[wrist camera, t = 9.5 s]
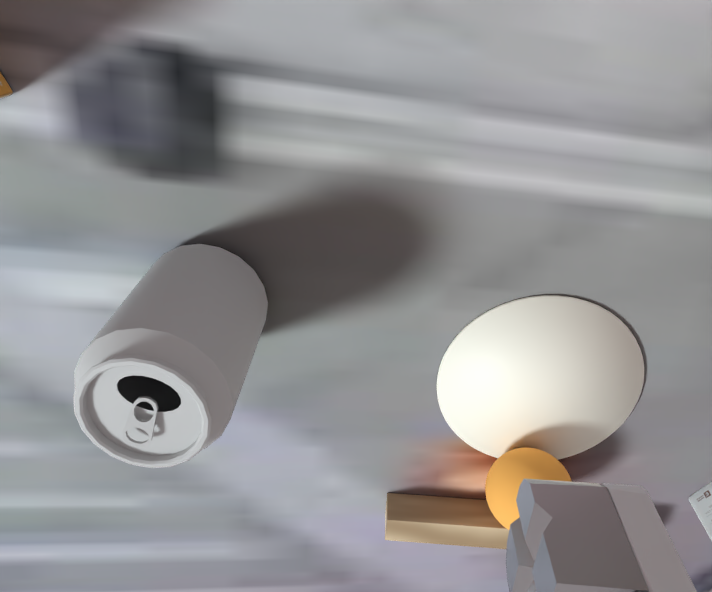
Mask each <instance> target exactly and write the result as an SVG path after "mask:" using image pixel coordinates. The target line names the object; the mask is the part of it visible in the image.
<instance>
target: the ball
mask: <svg viewBox="0 0 712 592" xmlns="http://www.w3.org/2000/svg"><path fill="white" fill-rule="evenodd" d="M523 479H539V480H554V481H569V482H572V481H571V478H570V476H569V474H568V472H567V470H566V469H565V467H564V466H563V465H562V464H561V463H560V462H559V461H558V460H557V459H556V458H555V457H553V456H552V455H550V454H549V453H547V452H545V451H542V450H539V449H536V448H526V447H524V448H517V449H513V450H511V451H508V452H506V453H505V454H503V455H502V456H500V457H499V458H498V459H497V460H496V461H495V462H494V464H493V465H492V466H491V468H490V470H489V472H488V475H487V479H486V486H485V492H486V499H487V503H488V506H489V508H490V510H491V512H492V514H493V515H494V517H495V518H496V519H497V520H498V522H499V523H500V524H501V525H503V526H504V527H505V528H506V529H508V530H509V529H510V524H511V523H513V522H514V521H515V520H517V519H518V518H519V517H520V516H519V511H518V507H517V502H516V498H517V494H518V490H519V486H520V484H521V483H522V481H523Z"/></svg>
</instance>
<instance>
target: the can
mask: <svg viewBox="0 0 712 592" xmlns="http://www.w3.org/2000/svg"><path fill="white" fill-rule="evenodd" d="M267 308H268V301H267V297H266V293H265V288H264V285H263V284H262V282H261V280H260V279H259V277H258V276H257V274H256V272H255V271H254V269H252V268H251V267H250V266H249V265H248V264H247V263H246V262H245V261H243V260H242V259H241V258H240V257H239V256H237V255H235V254H233V253H231V252H229V251H227V250H225V249H222V248H220V247H215V246H210V245H204V244H193V245H185V246H179V247H177V248H175V249H173V250H171V251H169V252H167V253H164V254H163V255H162V256H161V257H160V258H159V259H158V260H157V261H156V262H155V263H154V264H153V265H152V266H151V268H150V269H149V270H148V271H147V273H146V274H145V275H144V276H143V278H142V279H141V280H140V281H139V283H138V284H137V285H136V286H135V288H134V289H133V290H132V291H131V293H130V294H129V295H128V296H127V298H126V299H125V300H124V301H123V303H122V304H121V305H120V306H119V308H118V309H117V310H116V311H115V313H114V314H113V315H112V316H111V318H110V319H109V320H108V321H107V323H106V324H105V325H104V326H103V328H102V329H101V330H100V331H99V332H98V334H97V335H96V336H95V337H94V339H93V340H92V341H91V342H90V344H89V345H88V346H87V347H86V349H85V350H84V351H83V352H82V354H81V356H80V358H79V361H78V364H77V366H76V369H75V372H74V382H75V393H74V395H73V398H74V413H75V415H76V418H77V420H78V422H79V424H80V427H81V429H82V430H83V432H84V433H85V434H86V435H87V436H88V437H89V438H90V440H91V441H92V442H93V443H94V444H95V445H96V446H97V447H99V448H100V449H102V450H103V451H105V452H106V453H107V454H109V455H110V456H112V457H114V458H116V459H119V460H121V461H124V462H126V463H129V464H131V465H137V466H143V467H149V468H160V467H172V466H175V465H178V464H180V463H183V462H186V461H189V460H190V459H191V458H193V457H194V456H195V455H196V454H198V453H199V452H200V451H201V450H202V449H205V448H207V447H208V446H209V445H210V444H212V443H213V442H214V441H215V440H217V439H218V438H219V437H220V436H221V435H222V433H223V432H224V430H225V428H226V426H227V424H228V423H229V421H230V419H231V416H232V413H233V411H234V408H235V405H236V402H237V399H238V397H239V394H240V391H241V388H242V386H243V383H244V380H245V377H246V374H247V372H248V369H249V366H250V363H251V360H252V358H253V355H254V352H255V349H256V347H257V344H258V341H259V338H260V335H261V333H262V330H263V327H264V324H265V322H266V316H267Z"/></svg>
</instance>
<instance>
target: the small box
mask: <svg viewBox="0 0 712 592" xmlns="http://www.w3.org/2000/svg"><path fill="white" fill-rule="evenodd" d="M12 93H13V92H12V89H11V88H10V86H9V85H8V83H7V82H6V80H5V78H4V77H3V75H2V74H1V72H0V99H3V98H5V97H7V96H10V95H12Z"/></svg>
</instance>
